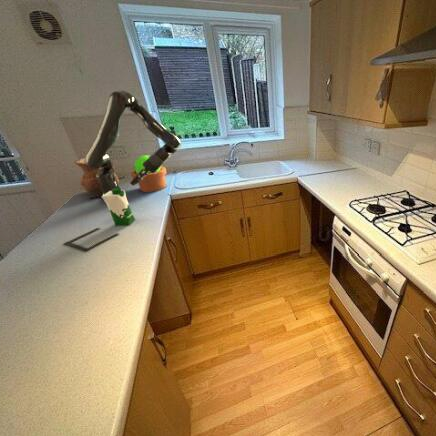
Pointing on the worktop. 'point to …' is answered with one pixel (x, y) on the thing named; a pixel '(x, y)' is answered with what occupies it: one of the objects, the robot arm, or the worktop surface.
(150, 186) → the potted cactus
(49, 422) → the worktop surface
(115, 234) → the dark flat u-shaped piece
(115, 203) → the soya milk
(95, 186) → the jug
